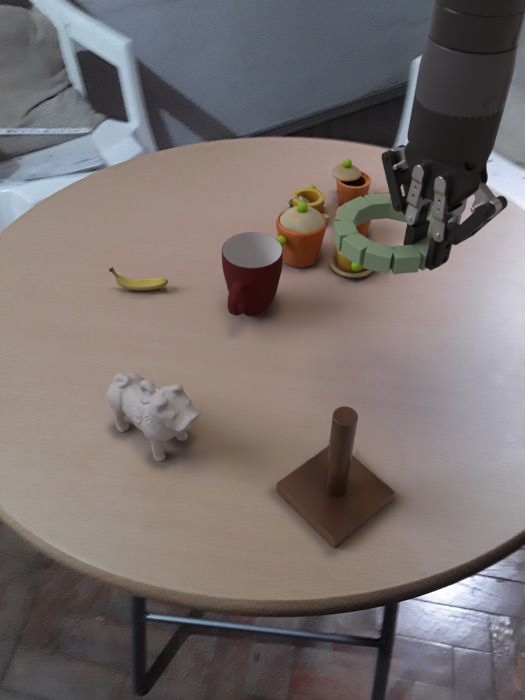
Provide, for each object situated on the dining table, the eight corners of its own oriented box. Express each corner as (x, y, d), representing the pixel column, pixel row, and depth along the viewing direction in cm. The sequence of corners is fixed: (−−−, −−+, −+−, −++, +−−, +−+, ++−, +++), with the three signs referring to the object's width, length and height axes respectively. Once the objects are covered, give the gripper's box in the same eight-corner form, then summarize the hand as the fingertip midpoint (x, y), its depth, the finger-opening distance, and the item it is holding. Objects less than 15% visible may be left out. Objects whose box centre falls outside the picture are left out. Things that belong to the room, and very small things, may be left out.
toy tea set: (377, 286, 99) (386, 231, 92) (271, 279, 100) (272, 224, 94) (375, 191, 118) (382, 140, 111) (286, 186, 119) (288, 134, 112)
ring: (386, 197, 78) (388, 182, 76) (467, 245, 71) (471, 229, 70) (311, 234, 72) (312, 218, 71) (391, 288, 66) (394, 272, 65)
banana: (111, 293, 98) (107, 271, 95) (113, 286, 99) (109, 264, 96) (168, 294, 98) (165, 272, 95) (169, 286, 99) (167, 264, 96)
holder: (334, 448, 78) (345, 367, 69) (393, 499, 74) (413, 420, 64) (275, 491, 74) (278, 411, 65) (333, 548, 69) (345, 471, 60)
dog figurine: (183, 482, 75) (175, 421, 68) (105, 424, 81) (90, 362, 73) (215, 451, 78) (211, 390, 71) (138, 398, 84) (126, 336, 76)
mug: (267, 343, 91) (267, 285, 84) (210, 331, 92) (206, 273, 85) (287, 294, 98) (289, 237, 91) (234, 284, 100) (232, 227, 93)
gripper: (558, 110, 55) (502, 279, 67) (427, 56, 62) (398, 216, 75) (501, 137, 51) (452, 310, 64) (369, 77, 59) (349, 241, 71)
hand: (423, 259), depth 69 cm, fingers closed on ring, 2 cm apart
